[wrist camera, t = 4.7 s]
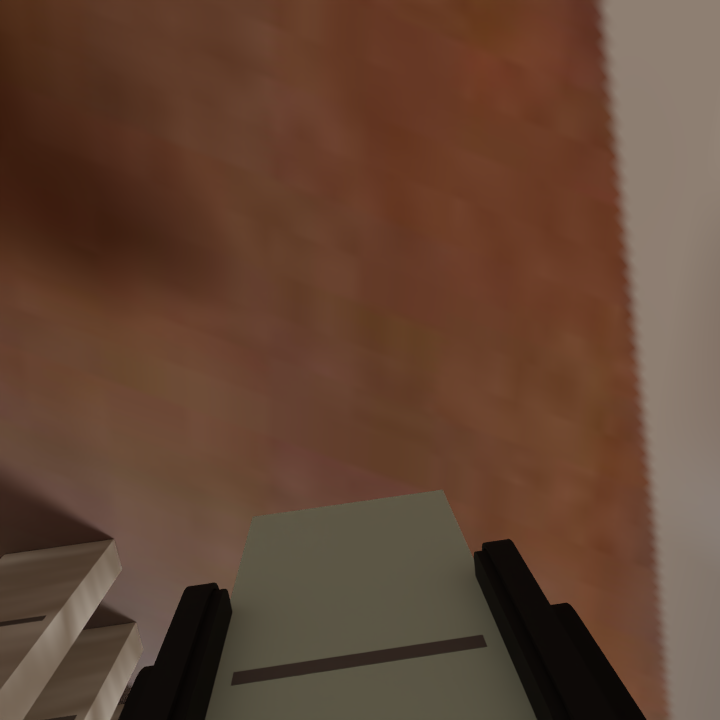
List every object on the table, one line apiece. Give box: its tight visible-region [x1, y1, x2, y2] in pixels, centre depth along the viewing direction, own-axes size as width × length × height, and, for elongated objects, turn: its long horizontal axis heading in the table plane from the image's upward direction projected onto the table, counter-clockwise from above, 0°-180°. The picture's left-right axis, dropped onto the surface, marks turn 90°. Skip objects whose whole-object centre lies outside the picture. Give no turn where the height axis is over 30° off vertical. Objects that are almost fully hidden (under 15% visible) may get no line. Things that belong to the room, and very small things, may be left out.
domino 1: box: [205, 490, 537, 720], centre depth 8 cm, size 2×5×10 cm, turn 97°
